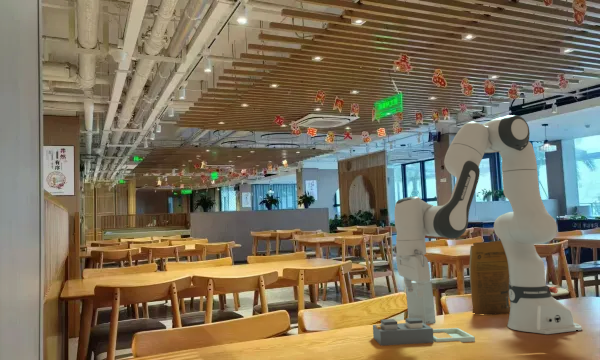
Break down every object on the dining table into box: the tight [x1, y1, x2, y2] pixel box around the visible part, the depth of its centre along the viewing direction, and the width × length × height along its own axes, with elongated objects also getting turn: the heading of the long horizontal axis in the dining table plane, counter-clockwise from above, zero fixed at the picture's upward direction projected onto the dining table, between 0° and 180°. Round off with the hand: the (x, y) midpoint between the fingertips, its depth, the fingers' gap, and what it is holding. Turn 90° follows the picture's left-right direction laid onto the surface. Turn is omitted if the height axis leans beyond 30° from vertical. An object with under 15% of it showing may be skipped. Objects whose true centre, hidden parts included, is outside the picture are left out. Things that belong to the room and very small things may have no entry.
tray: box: [433, 327, 476, 343], centre depth 148 cm, size 12×12×2 cm
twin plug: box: [380, 318, 398, 330], centre depth 144 cm, size 4×4×6 cm
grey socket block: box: [372, 322, 435, 347], centre depth 144 cm, size 16×9×6 cm, turn 95°
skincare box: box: [405, 280, 437, 325], centre depth 172 cm, size 8×6×15 cm
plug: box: [404, 317, 423, 328], centre depth 145 cm, size 4×4×6 cm
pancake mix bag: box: [468, 240, 510, 315], centre depth 184 cm, size 7×19×28 cm, turn 99°
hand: (414, 294), depth 146 cm, fingers open, 8 cm apart
